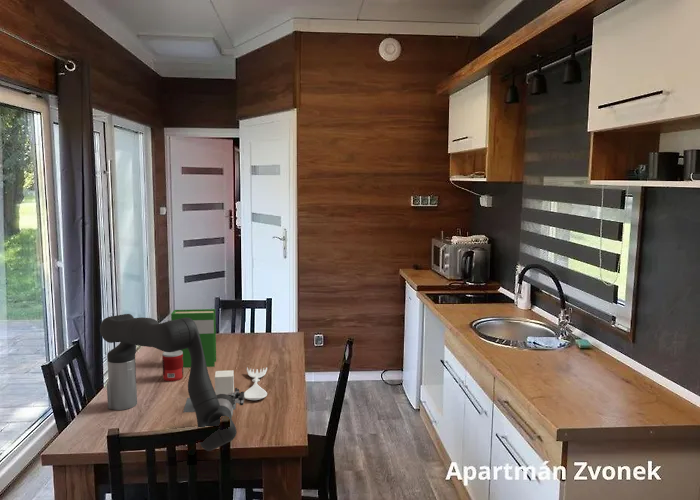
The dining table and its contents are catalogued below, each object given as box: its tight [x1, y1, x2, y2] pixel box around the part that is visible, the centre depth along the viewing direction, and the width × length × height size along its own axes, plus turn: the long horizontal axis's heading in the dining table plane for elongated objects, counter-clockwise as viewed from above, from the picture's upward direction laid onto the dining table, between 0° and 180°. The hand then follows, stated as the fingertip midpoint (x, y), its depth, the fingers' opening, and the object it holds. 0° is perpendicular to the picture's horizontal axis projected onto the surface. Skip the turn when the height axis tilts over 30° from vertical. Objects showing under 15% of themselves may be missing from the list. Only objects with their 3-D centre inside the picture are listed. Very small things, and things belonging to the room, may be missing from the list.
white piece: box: [243, 366, 268, 401], centre depth 215 cm, size 9×32×4 cm, turn 8°
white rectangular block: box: [214, 369, 235, 406], centre depth 199 cm, size 6×6×11 cm
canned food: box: [161, 350, 184, 382], centre depth 223 cm, size 8×8×11 cm
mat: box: [182, 397, 237, 414], centre depth 199 cm, size 18×13×3 cm
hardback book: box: [170, 308, 217, 369], centre depth 239 cm, size 18×7×24 cm, turn 98°
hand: (223, 391), depth 187 cm, fingers open, 8 cm apart
